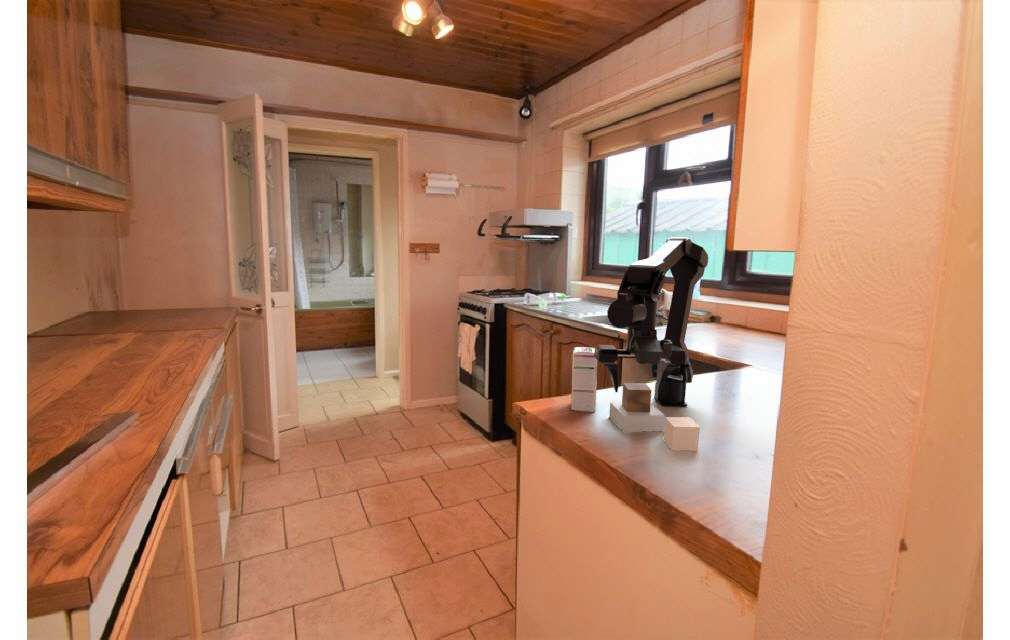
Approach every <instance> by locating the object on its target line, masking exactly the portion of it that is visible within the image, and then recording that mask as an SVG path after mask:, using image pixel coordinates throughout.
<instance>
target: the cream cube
mask: <svg viewBox="0 0 1010 640" xmlns="http://www.w3.org/2000/svg"><path fill="white" fill-rule="evenodd" d="M700 431H701V427H700V426H699V425H698V424H697V423H696V422H695V421H694V420H693V419H692V418H691V417H685V416H684V417H683V416H681V417H679V416H677V417H676V416H665V422H664V431H663V439H664V440H665V441H664V440H663V441H664V442H665V444H666V443H667V444H668V445H667V444H666V445H667V447H668V448H669V449H670V448H671V449H670V450H671V451H673V450H675V451H676V452H678V451H677V450H684V451H683V452H687V451H686V450H690V451H689V452H698V451H699V441H700ZM692 450H693V451H692Z"/></svg>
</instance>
